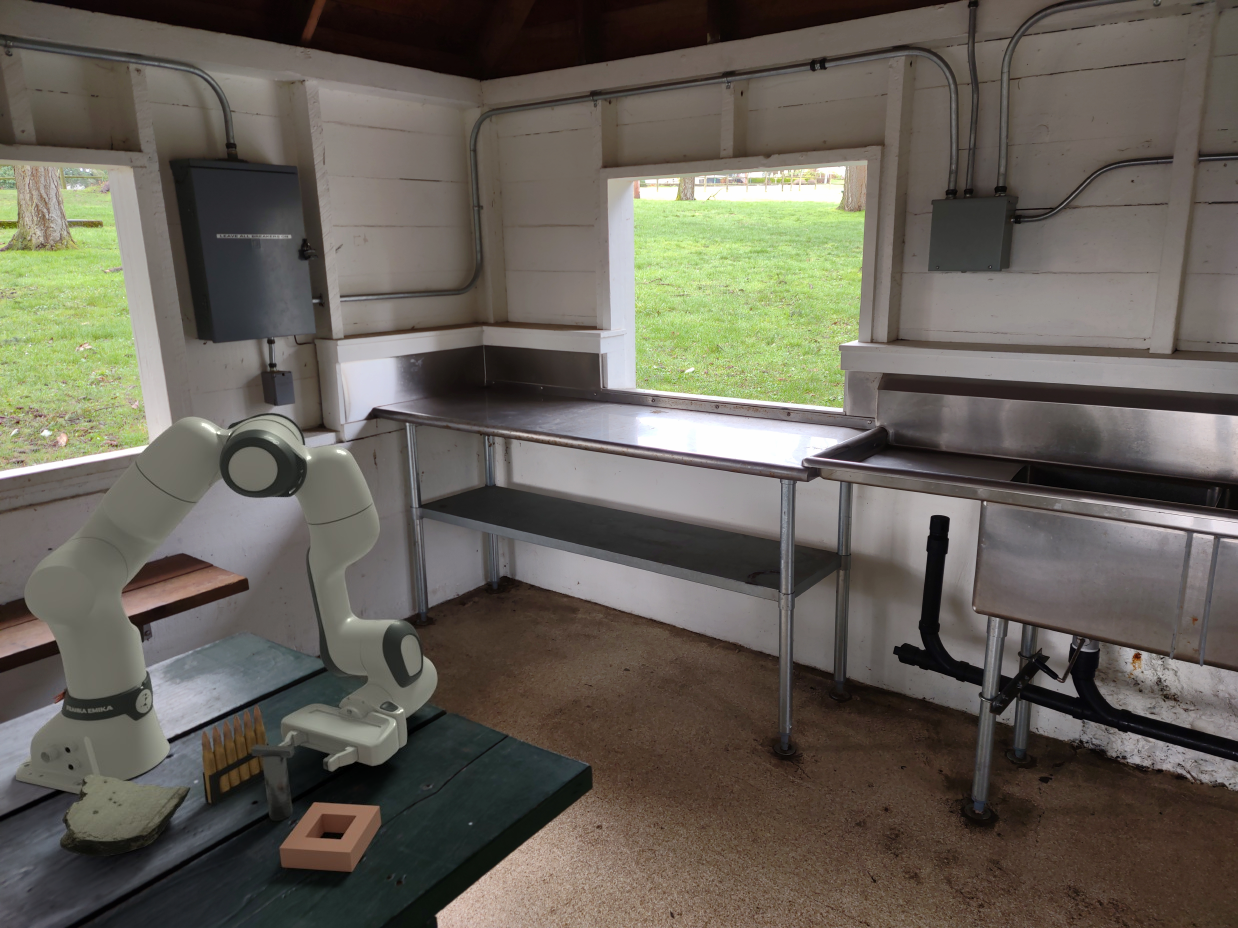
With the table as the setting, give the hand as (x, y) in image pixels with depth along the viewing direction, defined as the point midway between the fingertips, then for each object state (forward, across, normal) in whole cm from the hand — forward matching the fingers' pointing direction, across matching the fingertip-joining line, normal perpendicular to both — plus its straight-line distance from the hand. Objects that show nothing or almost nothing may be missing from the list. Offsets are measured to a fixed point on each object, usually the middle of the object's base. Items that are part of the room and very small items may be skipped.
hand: (303, 759), depth 130 cm
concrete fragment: (+19, -16, +6) cm, 26 cm away
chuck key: (+5, 0, +6) cm, 8 cm away
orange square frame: (+8, +12, +6) cm, 16 cm away
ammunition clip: (+3, -11, +6) cm, 13 cm away
